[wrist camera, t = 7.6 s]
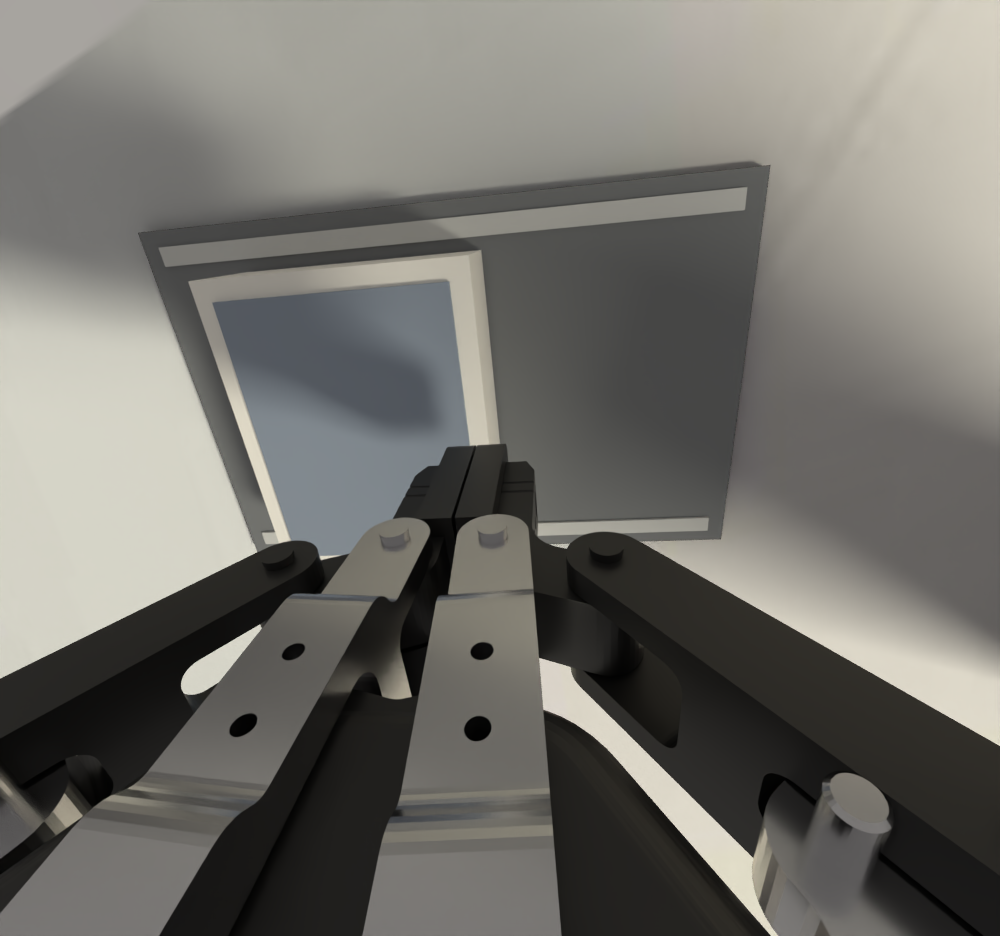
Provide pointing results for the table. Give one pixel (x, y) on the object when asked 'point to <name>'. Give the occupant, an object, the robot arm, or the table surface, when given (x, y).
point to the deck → (351, 382)
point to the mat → (548, 333)
